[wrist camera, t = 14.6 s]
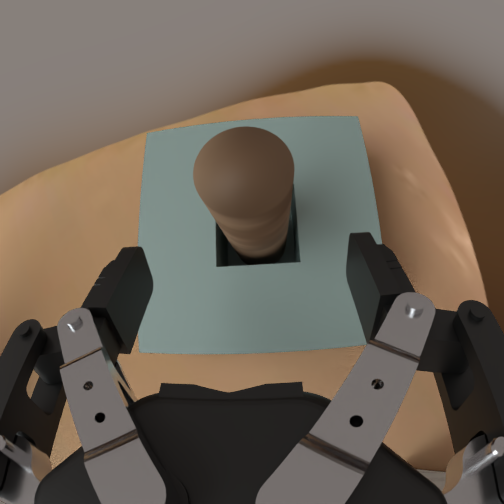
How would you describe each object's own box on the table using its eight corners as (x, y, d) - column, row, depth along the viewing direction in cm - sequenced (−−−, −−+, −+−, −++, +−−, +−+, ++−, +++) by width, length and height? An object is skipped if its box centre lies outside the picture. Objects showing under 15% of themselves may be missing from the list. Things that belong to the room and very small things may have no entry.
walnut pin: (235, 269, 24) (191, 220, 12) (234, 219, 25) (194, 131, 12) (287, 266, 24) (299, 213, 11) (284, 216, 25) (289, 123, 12)
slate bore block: (169, 344, 25) (139, 352, 19) (170, 166, 28) (147, 133, 22) (364, 335, 24) (389, 341, 18) (344, 153, 27) (357, 116, 21)
